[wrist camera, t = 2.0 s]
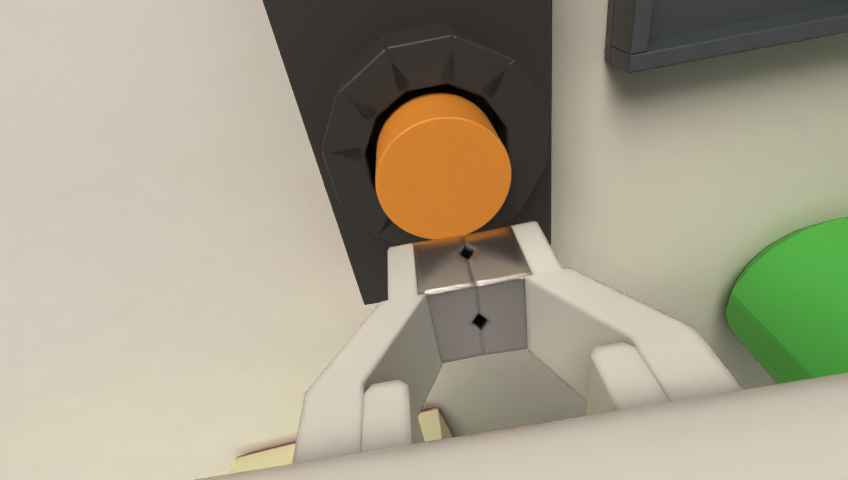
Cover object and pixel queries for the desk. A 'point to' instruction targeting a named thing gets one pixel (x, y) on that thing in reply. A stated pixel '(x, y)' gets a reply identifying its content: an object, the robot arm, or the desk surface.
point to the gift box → (283, 454)
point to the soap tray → (711, 28)
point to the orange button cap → (440, 167)
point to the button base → (408, 78)
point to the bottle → (796, 304)
